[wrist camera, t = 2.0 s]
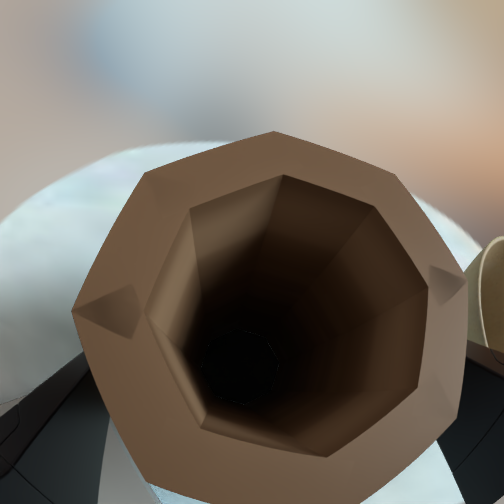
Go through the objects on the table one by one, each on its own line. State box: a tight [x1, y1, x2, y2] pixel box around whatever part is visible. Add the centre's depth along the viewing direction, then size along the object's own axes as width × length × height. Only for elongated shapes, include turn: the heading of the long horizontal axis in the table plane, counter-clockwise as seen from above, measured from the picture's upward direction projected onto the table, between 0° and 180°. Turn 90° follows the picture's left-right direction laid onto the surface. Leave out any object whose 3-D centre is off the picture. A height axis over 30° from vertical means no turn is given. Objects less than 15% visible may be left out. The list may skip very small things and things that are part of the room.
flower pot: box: [464, 236, 504, 353], centre depth 14 cm, size 10×10×7 cm
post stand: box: [0, 395, 162, 504], centre depth 9 cm, size 10×10×5 cm
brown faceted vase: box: [71, 131, 468, 504], centre depth 10 cm, size 6×6×13 cm
